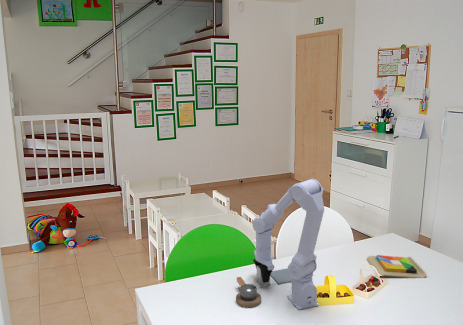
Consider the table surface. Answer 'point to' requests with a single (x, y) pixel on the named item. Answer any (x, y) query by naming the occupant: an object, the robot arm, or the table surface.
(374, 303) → the table surface
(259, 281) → the translucent grey block
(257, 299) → the base
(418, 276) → the wooden puzzle
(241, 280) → the small saucepan
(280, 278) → the mat
